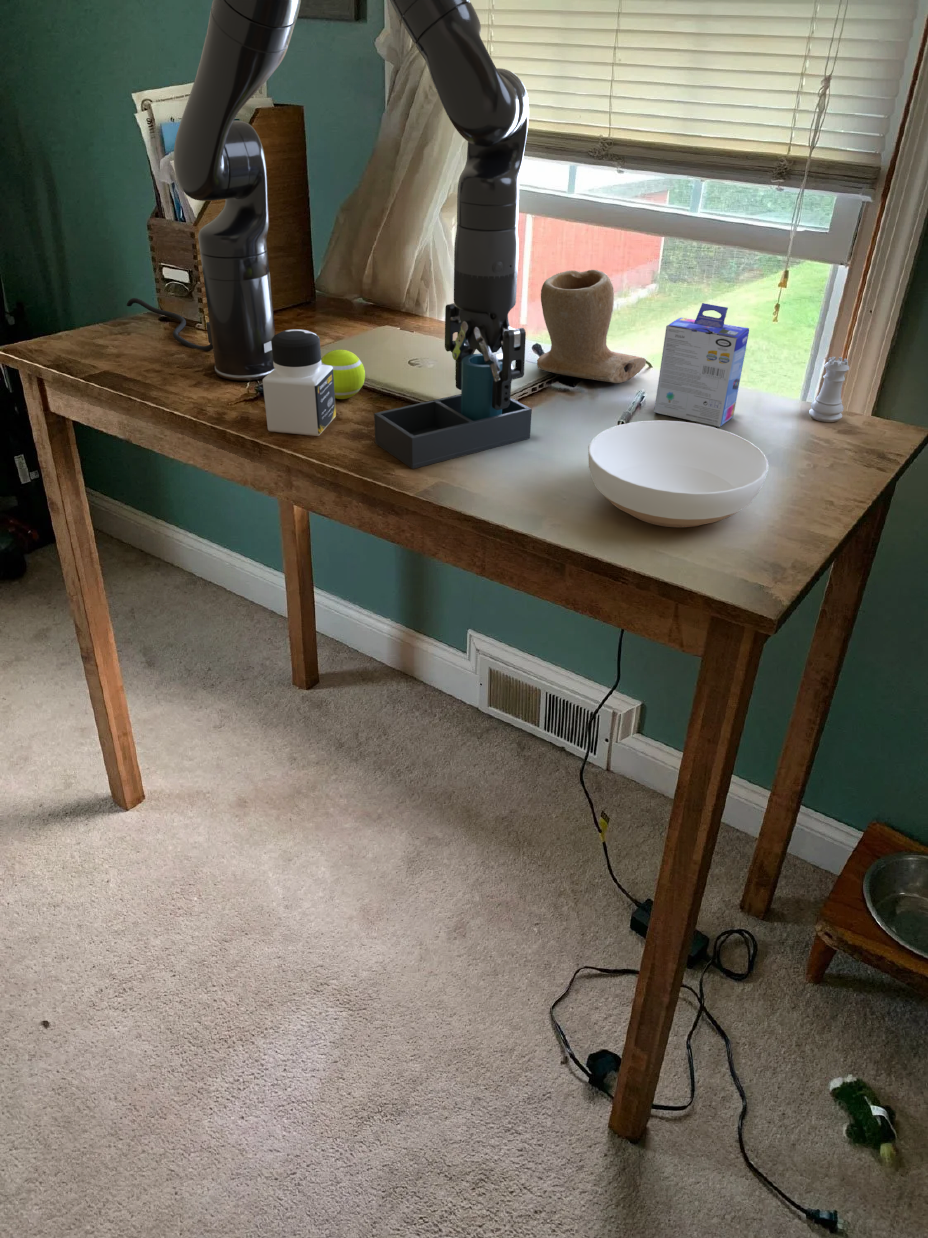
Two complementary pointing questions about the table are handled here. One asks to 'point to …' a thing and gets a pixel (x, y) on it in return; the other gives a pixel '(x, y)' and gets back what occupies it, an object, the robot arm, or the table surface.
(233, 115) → the robot arm
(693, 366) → the ink cartridge box
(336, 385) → the tennis ball
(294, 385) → the medicine bottle
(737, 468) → the bowl
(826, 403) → the rook chess piece
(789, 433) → the table surface
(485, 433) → the divided tray
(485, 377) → the jar
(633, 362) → the clay platform pipe
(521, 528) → the table surface
